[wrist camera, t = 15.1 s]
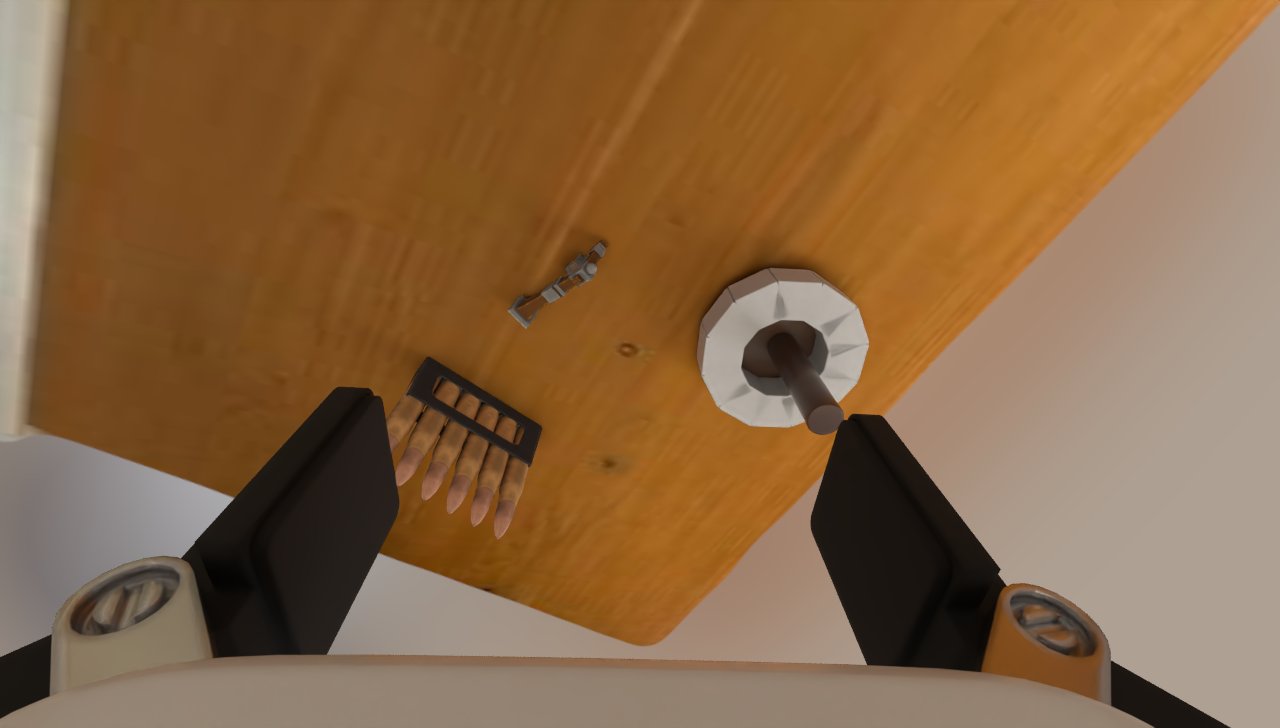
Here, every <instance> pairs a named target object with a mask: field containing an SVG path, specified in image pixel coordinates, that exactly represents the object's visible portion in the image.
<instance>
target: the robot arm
mask: <svg viewBox="0 0 1280 728" xmlns="http://www.w3.org/2000/svg"><path fill="white" fill-rule="evenodd" d="M398 510H399V495H398V489H397V483H396V477H395V472H394V466H393V460H392V454H391V448H390V442H389V436H388V430H387V424H386V418H385V412H384V406H383V402H382V399H381V397H379V396H374V394H373V392H372V391H371V389H369V388H355V387H337V388H336V389H334V390H333V391H332V392H331V393H330V395H329V396H328V397H327V398H326V399H325V400H324V401H323V402H322V403H321V404H320V405H319V407H318V408H317V409H316V410H315V411H314V412H313V413H312V414H311V415H310V416H309V418H308V419H307V420H306V421H305V422H304V423H303V424H302V425H301V426H300V427H299V428H298V430H297V431H296V432H295V433H294V434H293V435H292V436H291V437H290V438H289V439H288V441H287V442H286V443H285V444H284V445H283V446H282V447H281V448H280V449H279V450H278V451H277V453H276V454H275V455H274V456H273V457H272V458H271V459H270V460H269V461H268V462H267V463H266V465H265V466H264V467H263V468H262V469H261V470H260V471H259V472H258V473H257V474H256V476H255V477H254V478H253V479H252V480H251V481H250V482H249V483H248V484H247V485H246V486H245V488H244V489H243V490H242V491H241V492H240V493H239V494H238V495H237V496H236V497H235V499H234V500H233V501H232V502H231V503H230V504H229V505H228V506H227V507H226V508H225V509H224V511H223V512H222V513H221V514H220V515H219V516H218V517H217V518H216V520H215V521H214V522H213V523H212V524H211V525H210V526H209V527H208V528H207V529H206V530H205V531H204V533H203V534H202V535H201V536H200V537H199V538H198V539H197V540H196V541H195V544H194V545H193V546H192V547H191V548H190V549H189V550H188V551H187V552H186V553H185V555H184V556H183V557H182V558H181V559H180V558H178V557H169V556H158V557H150V558H143V559H140V560H136V561H133V562H129V563H126V564H123V565H121V566H118V567H117V568H114V569H112V570H109V571H107V572H105V573H103V574H101V575H100V576H98V577H97V578H95V579H93V580H92V581H90V582H88V583H87V584H85V585H84V586H82V587H81V588H80V589H79V590H78V591H76V592H75V593H74V594H73V595H72V596H71V597H70V598H68V599H67V600H66V602H65V603H64V604H63V606H62V607H61V608H60V610H59V611H58V612H57V614H56V616H55V620H54V623H53V626H52V634H51V635H49V636H47V637H45V638H42V639H40V640H38V641H36V642H33V643H31V644H29V645H27V646H24V647H22V648H20V649H18V650H15V651H13V652H11V653H9V654H6V655H4V656H2V657H0V728H1230V727H1228V726H1227V725H1224V724H1223V723H1221V722H1220V721H1218V720H1216V719H1214V718H1212V717H1211V716H1209V715H1207V714H1205V713H1204V712H1202V711H1200V710H1198V709H1196V708H1195V707H1193V706H1191V705H1189V704H1187V703H1186V702H1184V701H1182V700H1180V699H1179V698H1177V697H1175V696H1173V695H1171V694H1170V693H1168V692H1166V691H1164V690H1163V689H1161V688H1159V687H1157V686H1155V685H1154V684H1152V683H1150V682H1148V681H1146V680H1145V679H1143V678H1141V677H1139V676H1138V675H1136V674H1134V673H1132V672H1131V671H1129V670H1127V669H1125V668H1123V667H1122V666H1120V665H1118V664H1116V663H1114V662H1113V661H1111V656H1110V655H1111V652H1110V648H1109V644H1108V640H1107V639H1106V637H1105V635H1104V634H1103V632H1102V630H1101V629H1100V627H1099V626H1098V625H1097V624H1096V623H1095V622H1094V621H1093V620H1092V619H1091V618H1090V617H1089V616H1088V614H1086V613H1085V612H1084V611H1083V610H1081V609H1080V608H1079V607H1077V606H1076V605H1075V604H1074V603H1072V602H1071V601H1069V600H1067V599H1065V598H1064V597H1062V596H1060V595H1058V594H1057V593H1055V592H1052V591H1050V590H1047V589H1044V588H1042V587H1039V586H1035V585H1030V584H1025V583H1020V584H1011V585H1009V586H1006V584H1005V583H1004V582H1003V580H1002V579H1001V578H1000V576H999V575H998V573H999V571H1000V568H999V567H998V565H997V564H996V563H995V561H994V560H993V559H992V558H991V556H990V555H989V554H988V552H987V551H986V550H985V549H984V547H983V546H982V545H981V543H980V542H979V541H978V539H977V538H976V537H975V535H974V534H973V533H972V532H971V531H970V529H969V528H968V526H967V525H966V524H965V522H964V521H963V520H962V519H961V517H960V516H959V515H958V513H957V512H956V511H955V510H954V508H953V507H952V506H951V504H950V503H949V502H948V500H947V499H946V498H945V496H944V495H943V494H942V493H941V491H940V490H939V489H938V487H937V486H936V485H935V484H934V482H933V481H932V480H931V479H930V477H929V476H928V474H926V472H925V470H924V469H923V468H922V467H921V465H920V464H919V463H918V461H917V460H916V459H915V457H913V455H912V454H911V452H910V451H909V450H908V448H907V447H906V446H905V444H904V443H903V442H902V441H901V439H900V438H899V437H898V435H897V434H896V433H895V431H894V430H893V429H892V428H891V426H890V425H889V424H888V422H887V421H886V420H885V418H883V417H882V416H880V415H867V414H852V415H851V416H850V417H849V418H848V420H843V421H842V422H841V423H840V425H839V427H838V431H837V434H836V437H835V440H834V444H833V447H832V450H831V453H830V457H829V460H828V463H827V466H826V469H825V473H824V476H823V480H822V483H821V486H820V489H819V492H818V495H817V499H816V502H815V505H814V509H813V512H812V515H811V530H812V534H813V536H814V539H815V541H816V543H817V546H818V548H819V551H820V553H821V555H822V558H823V560H824V563H825V565H826V567H827V570H828V572H829V575H830V577H831V579H832V582H833V584H834V586H835V589H836V591H837V593H838V596H839V598H840V601H841V603H842V606H843V608H844V611H845V613H846V615H847V618H848V620H849V623H850V625H851V627H852V629H853V632H854V634H855V637H856V639H857V642H858V644H859V646H860V649H861V651H862V654H863V656H864V658H865V661H866V663H867V665H849V664H810V663H808V664H807V663H773V662H736V661H734V662H733V661H696V660H695V661H694V660H649V659H602V658H551V657H492V656H486V657H485V656H428V655H427V656H426V655H327V653H328V651H329V649H330V647H331V645H332V643H333V641H334V639H335V637H336V635H337V633H338V631H339V629H340V627H341V625H342V623H343V621H344V619H345V618H346V616H347V614H348V612H349V610H350V607H351V605H352V604H353V602H354V600H355V598H356V596H357V594H358V592H359V590H360V588H361V586H362V584H363V582H364V580H365V578H366V576H367V574H368V572H369V570H370V568H371V566H372V564H373V562H374V560H375V559H376V557H377V554H378V553H379V551H380V549H381V547H382V545H383V543H384V541H385V539H386V537H387V535H388V533H389V531H390V529H391V527H392V525H393V523H394V521H395V519H396V517H397V514H398Z"/></svg>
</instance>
